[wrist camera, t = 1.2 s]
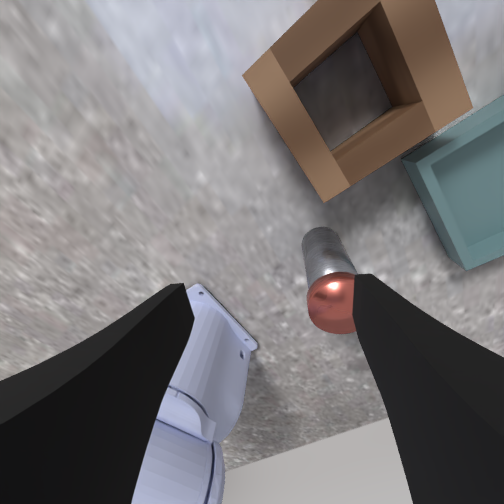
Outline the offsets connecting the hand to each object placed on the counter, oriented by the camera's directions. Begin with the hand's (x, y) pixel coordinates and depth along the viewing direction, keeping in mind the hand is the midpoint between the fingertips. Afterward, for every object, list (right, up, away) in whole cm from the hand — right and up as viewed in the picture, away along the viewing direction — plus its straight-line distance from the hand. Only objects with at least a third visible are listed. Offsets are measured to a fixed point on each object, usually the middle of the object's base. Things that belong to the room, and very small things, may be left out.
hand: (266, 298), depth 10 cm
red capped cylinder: (+5, +3, +9) cm, 11 cm away
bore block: (+5, +11, +5) cm, 13 cm away
